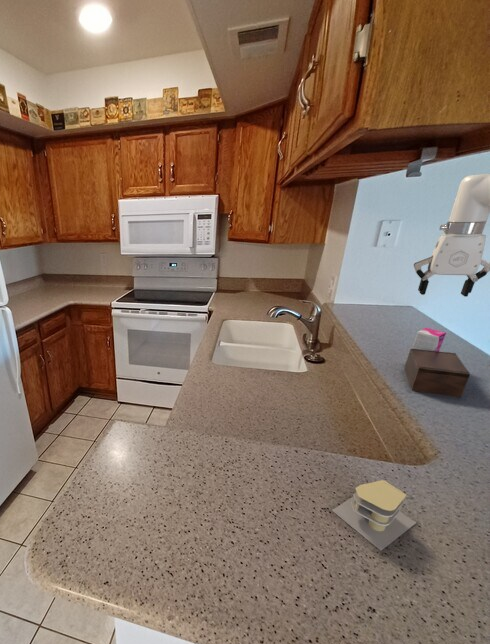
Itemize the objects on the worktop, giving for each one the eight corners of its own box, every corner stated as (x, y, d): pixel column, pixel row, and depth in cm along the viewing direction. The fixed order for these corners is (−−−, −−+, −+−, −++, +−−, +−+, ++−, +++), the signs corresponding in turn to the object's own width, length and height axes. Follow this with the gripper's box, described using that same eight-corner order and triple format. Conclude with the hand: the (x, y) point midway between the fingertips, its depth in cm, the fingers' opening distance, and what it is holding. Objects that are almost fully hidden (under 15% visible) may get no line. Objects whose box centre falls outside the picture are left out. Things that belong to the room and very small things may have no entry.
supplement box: (426, 370, 102) (438, 336, 97) (405, 364, 107) (416, 331, 102) (434, 365, 105) (446, 332, 100) (414, 359, 109) (424, 327, 104)
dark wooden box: (447, 374, 100) (455, 353, 96) (460, 397, 88) (470, 374, 85) (404, 369, 104) (410, 348, 101) (411, 390, 93) (419, 367, 90)
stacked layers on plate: (366, 488, 63) (372, 466, 61) (416, 522, 56) (426, 500, 53) (331, 510, 59) (337, 488, 57) (380, 550, 52) (389, 527, 49)
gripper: (427, 231, 85) (408, 296, 93) (515, 229, 79) (486, 299, 86) (420, 228, 91) (403, 290, 99) (501, 227, 85) (476, 292, 92)
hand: (442, 294), depth 93 cm, fingers open, 9 cm apart
